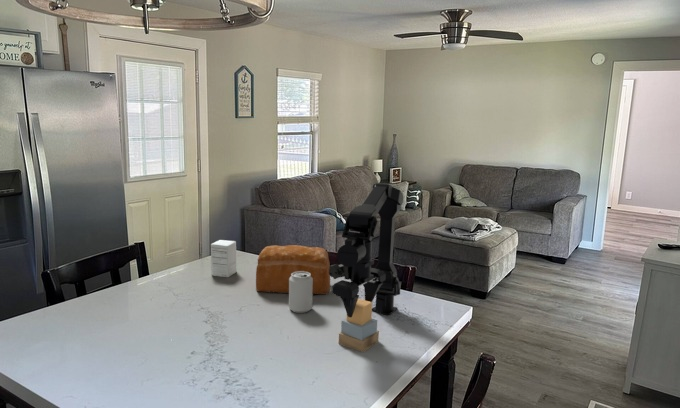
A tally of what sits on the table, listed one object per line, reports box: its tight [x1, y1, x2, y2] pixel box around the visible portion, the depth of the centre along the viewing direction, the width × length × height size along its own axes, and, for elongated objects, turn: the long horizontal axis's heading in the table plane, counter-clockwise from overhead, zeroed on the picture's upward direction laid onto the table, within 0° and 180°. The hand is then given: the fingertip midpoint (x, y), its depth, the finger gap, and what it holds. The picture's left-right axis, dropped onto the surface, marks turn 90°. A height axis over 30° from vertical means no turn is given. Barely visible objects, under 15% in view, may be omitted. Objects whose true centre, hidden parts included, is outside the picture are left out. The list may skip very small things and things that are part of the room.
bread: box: [255, 244, 331, 295], centre depth 179 cm, size 14×26×16 cm, turn 87°
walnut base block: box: [338, 330, 379, 353], centre depth 138 cm, size 8×8×4 cm
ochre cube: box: [346, 298, 373, 325], centre depth 137 cm, size 5×5×5 cm
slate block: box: [340, 317, 378, 340], centre depth 137 cm, size 7×7×4 cm
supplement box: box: [210, 239, 238, 278], centre depth 193 cm, size 7×7×13 cm
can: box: [288, 271, 313, 314], centre depth 160 cm, size 8×8×12 cm
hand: (358, 311), depth 137 cm, fingers open, 9 cm apart
